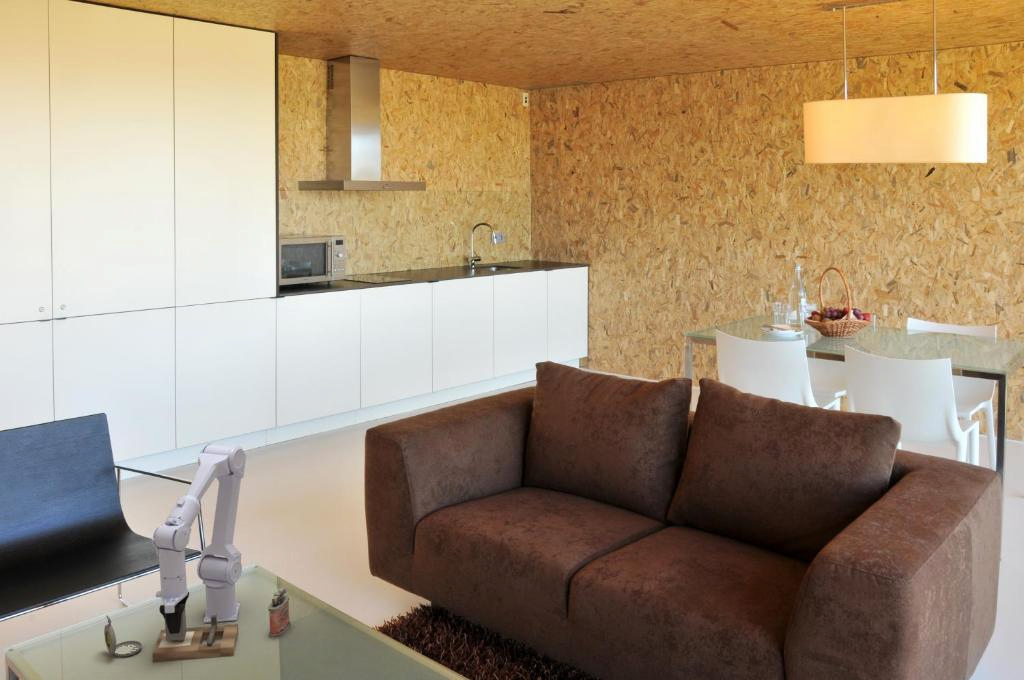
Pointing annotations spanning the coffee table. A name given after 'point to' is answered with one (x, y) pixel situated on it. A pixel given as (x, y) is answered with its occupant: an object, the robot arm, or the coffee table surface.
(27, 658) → the coffee table surface
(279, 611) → the lighter
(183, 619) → the gray rectangular block
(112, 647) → the pocket watch
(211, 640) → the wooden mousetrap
